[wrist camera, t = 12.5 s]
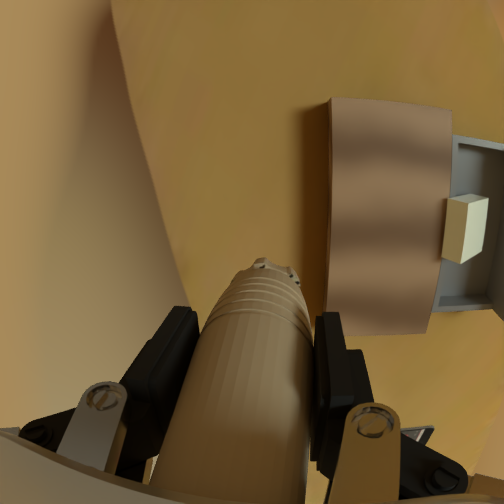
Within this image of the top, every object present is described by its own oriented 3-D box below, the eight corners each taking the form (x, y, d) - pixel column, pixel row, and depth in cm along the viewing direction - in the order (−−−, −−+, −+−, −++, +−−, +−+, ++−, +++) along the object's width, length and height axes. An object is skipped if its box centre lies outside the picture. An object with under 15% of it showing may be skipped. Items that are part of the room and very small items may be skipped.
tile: (447, 198, 22) (468, 203, 20) (470, 193, 24) (488, 198, 22) (441, 257, 24) (460, 264, 22) (464, 245, 26) (481, 251, 24)
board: (327, 101, 24) (331, 97, 21) (437, 111, 23) (451, 110, 20) (322, 318, 31) (323, 336, 28) (416, 317, 29) (425, 333, 27)
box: (440, 134, 23) (466, 135, 19) (507, 146, 22) (537, 150, 18) (422, 300, 29) (440, 326, 24) (486, 297, 28) (507, 320, 23)
